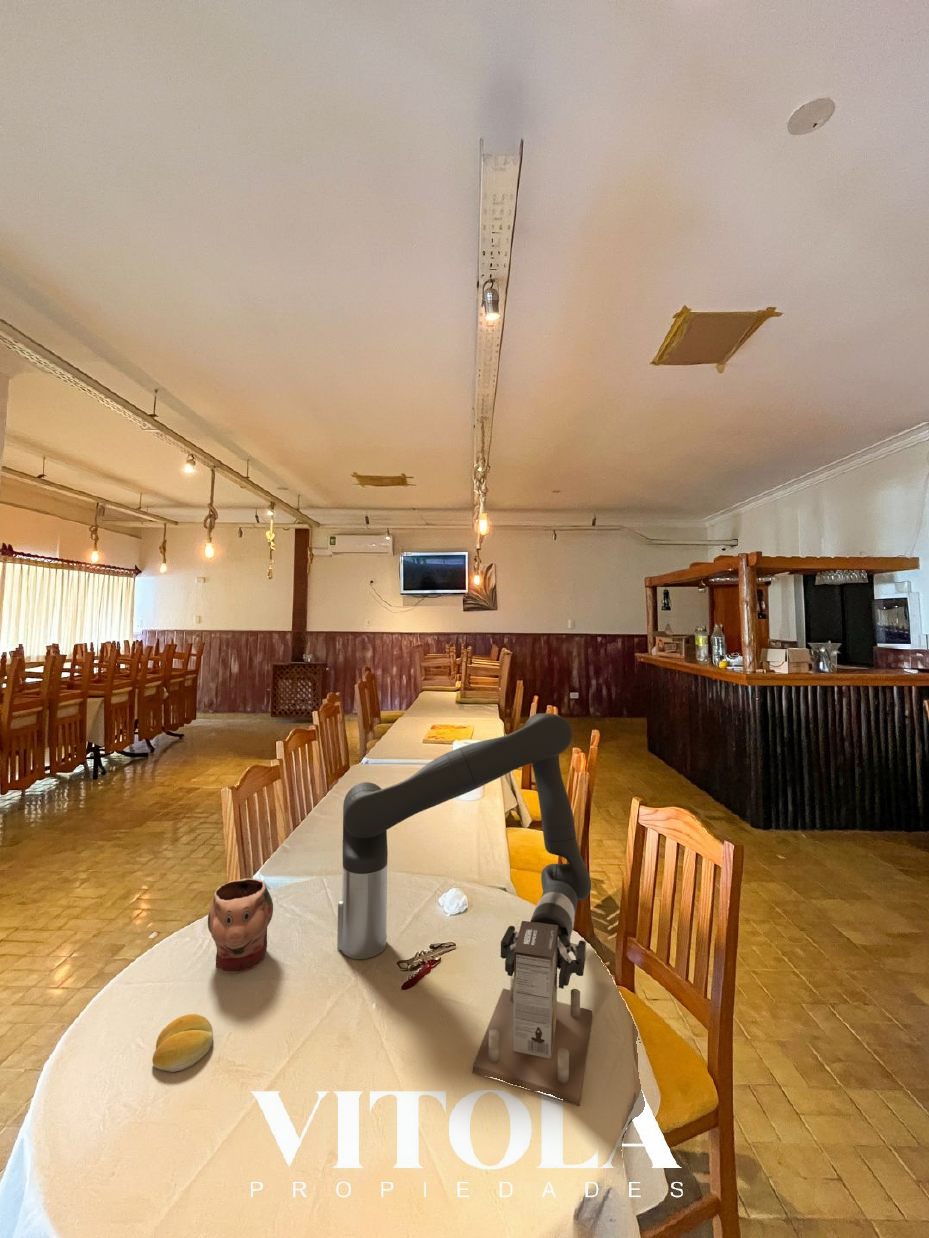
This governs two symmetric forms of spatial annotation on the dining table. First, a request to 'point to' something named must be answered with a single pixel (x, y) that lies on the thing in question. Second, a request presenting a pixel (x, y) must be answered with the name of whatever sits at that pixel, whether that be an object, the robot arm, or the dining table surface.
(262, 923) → the decorative planter
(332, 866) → the dining table surface
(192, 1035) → the bread roll
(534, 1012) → the coffee box
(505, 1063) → the standoff plate
